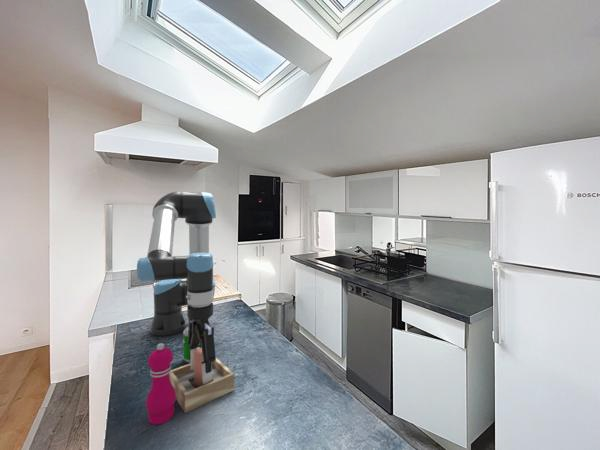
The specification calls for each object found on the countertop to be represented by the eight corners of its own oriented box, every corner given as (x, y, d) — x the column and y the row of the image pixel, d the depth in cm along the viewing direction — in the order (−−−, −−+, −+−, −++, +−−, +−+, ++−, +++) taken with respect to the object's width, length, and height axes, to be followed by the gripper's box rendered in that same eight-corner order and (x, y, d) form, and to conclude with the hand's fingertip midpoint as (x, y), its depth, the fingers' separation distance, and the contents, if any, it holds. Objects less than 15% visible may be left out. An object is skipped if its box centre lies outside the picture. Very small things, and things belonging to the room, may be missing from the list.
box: (168, 386, 86) (167, 371, 86) (213, 368, 96) (213, 355, 96) (185, 412, 75) (185, 395, 75) (234, 389, 85) (234, 374, 85)
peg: (192, 387, 86) (191, 350, 85) (204, 382, 89) (204, 346, 88) (197, 394, 83) (197, 355, 83) (210, 388, 86) (209, 351, 85)
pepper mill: (153, 407, 77) (152, 337, 77) (179, 405, 78) (179, 337, 77) (140, 427, 70) (139, 350, 69) (170, 425, 71) (169, 349, 70)
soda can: (209, 355, 105) (208, 325, 105) (195, 366, 98) (195, 333, 98) (193, 352, 108) (192, 322, 107) (178, 362, 101) (178, 330, 100)
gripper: (176, 297, 90) (176, 364, 91) (202, 316, 74) (203, 397, 75) (198, 293, 95) (199, 357, 96) (228, 309, 79) (228, 385, 80)
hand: (201, 374), depth 86 cm, fingers open, 8 cm apart
